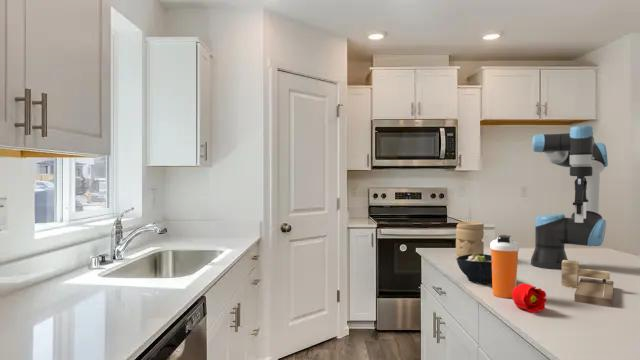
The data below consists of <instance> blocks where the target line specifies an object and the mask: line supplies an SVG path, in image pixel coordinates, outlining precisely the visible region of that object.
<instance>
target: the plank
mask: <svg viewBox="0 0 640 360" xmlns="http://www.w3.org/2000/svg"><path fill="white" fill-rule="evenodd" d="M573 300H574V302H575V301H576V302H577V303H581V302H582V303H583V304H589V305H597V306H603V307H608V308H609V307H610V308H612V307H613V303H614V302H613V301H614V281H613V280H606V283H603V279H599V278H590V277H580V279H579V280H578V286H577V288H575V291H574V299H573Z"/></svg>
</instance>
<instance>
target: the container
mask: <svg viewBox="0 0 640 360" xmlns="http://www.w3.org/2000/svg"><path fill="white" fill-rule="evenodd" d="M484 225H485V224H484V222H477V221H459V222H458V223H457V224H456V230H455V260H456V261H457V258H458V257H460V256H463V255H468V254H484V250H485V249H484V247H485V246H484V244H485V243H484V241H482V240H483V239H484V234H485V231H484V227H485V226H484Z"/></svg>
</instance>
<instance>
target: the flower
mask: <svg viewBox="0 0 640 360" xmlns="http://www.w3.org/2000/svg"><path fill="white" fill-rule="evenodd" d="M512 297H513V298H512V300H513V303H514V305H515V306H516V307H517V308H519V309H522V310H527V311H528V312H529V313H531V314H534V313H539V312H540V311H544V310H545V307H546V303H547V298H546V297H547V294H546V292H545V291H544V290H543V289H542V288H537V286H534V285H532V284H528V283H519V284H517V285H516V287H515V288H514V289H513V291H512Z"/></svg>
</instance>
